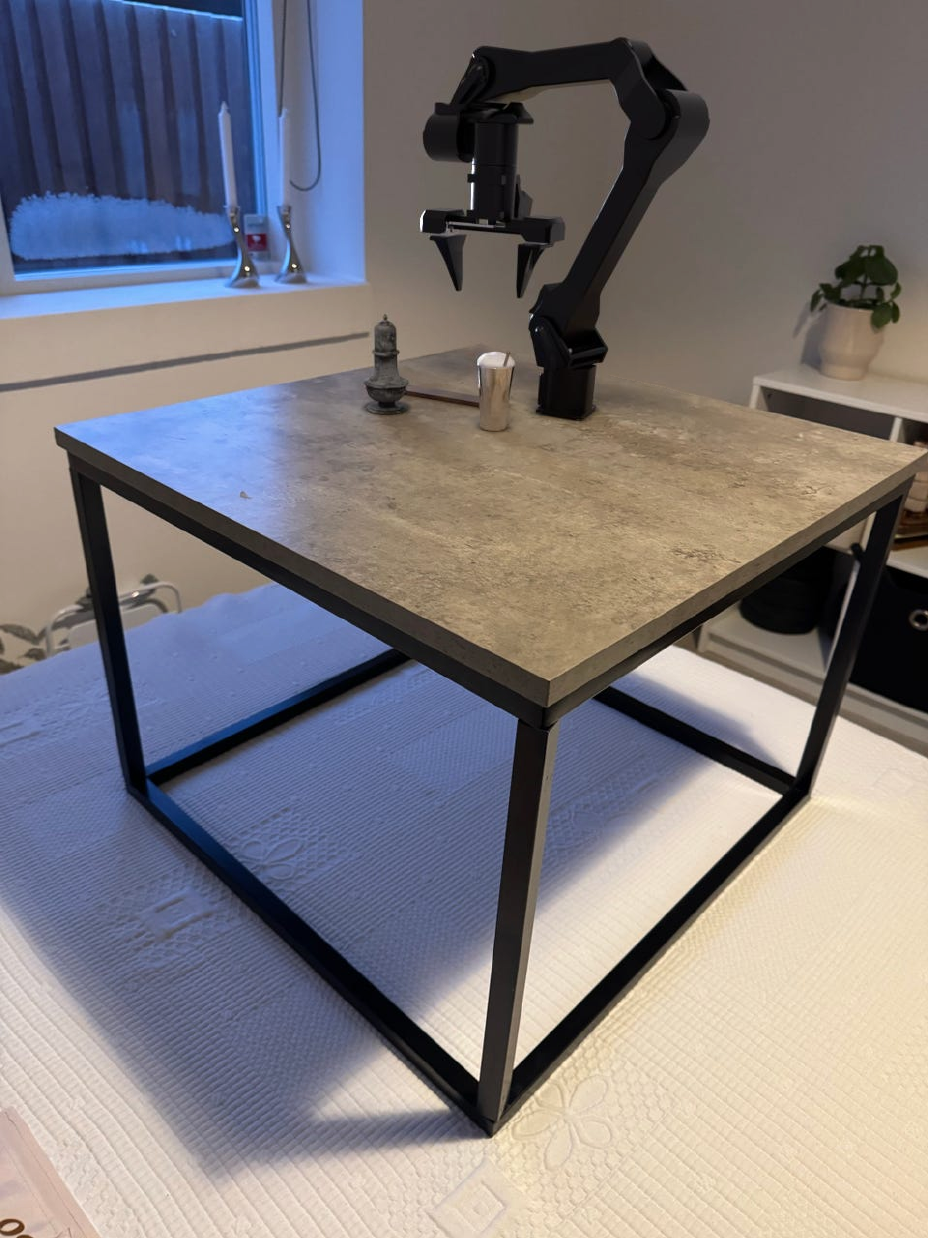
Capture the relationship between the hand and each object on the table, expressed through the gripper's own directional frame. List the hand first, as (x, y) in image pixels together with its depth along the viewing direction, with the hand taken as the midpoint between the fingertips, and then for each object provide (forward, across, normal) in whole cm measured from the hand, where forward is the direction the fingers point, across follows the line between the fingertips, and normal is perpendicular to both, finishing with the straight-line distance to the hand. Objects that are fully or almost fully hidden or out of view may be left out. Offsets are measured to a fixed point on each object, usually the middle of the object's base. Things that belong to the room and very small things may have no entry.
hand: (488, 294), depth 117 cm
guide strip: (+13, +4, +7) cm, 15 cm away
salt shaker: (+13, +7, +16) cm, 22 cm away
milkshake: (+13, -9, +16) cm, 23 cm away
